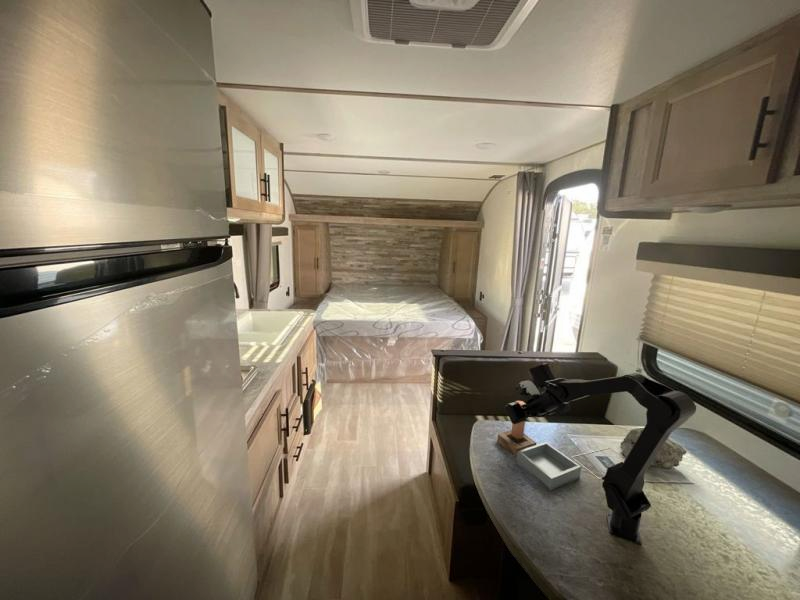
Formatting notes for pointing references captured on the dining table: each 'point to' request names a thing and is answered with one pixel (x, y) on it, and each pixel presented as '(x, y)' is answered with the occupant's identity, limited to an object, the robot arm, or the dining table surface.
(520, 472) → the dining table surface
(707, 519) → the dining table surface
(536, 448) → the tray
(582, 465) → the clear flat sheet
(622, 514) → the robot arm
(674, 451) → the stone
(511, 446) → the socket block
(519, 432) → the dowel
